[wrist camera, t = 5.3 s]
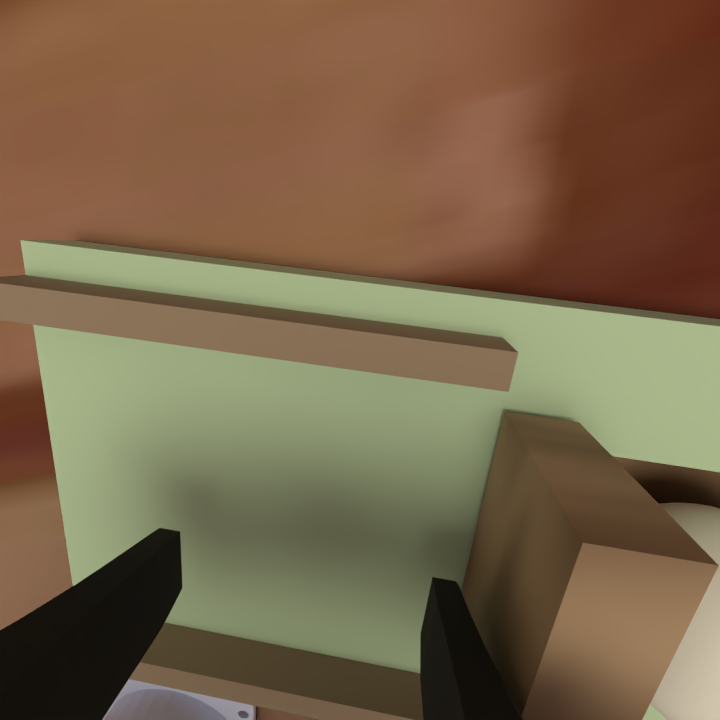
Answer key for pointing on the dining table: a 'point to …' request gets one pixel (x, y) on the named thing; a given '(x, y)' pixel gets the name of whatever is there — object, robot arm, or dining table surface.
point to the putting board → (321, 446)
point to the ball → (696, 631)
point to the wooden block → (577, 576)
